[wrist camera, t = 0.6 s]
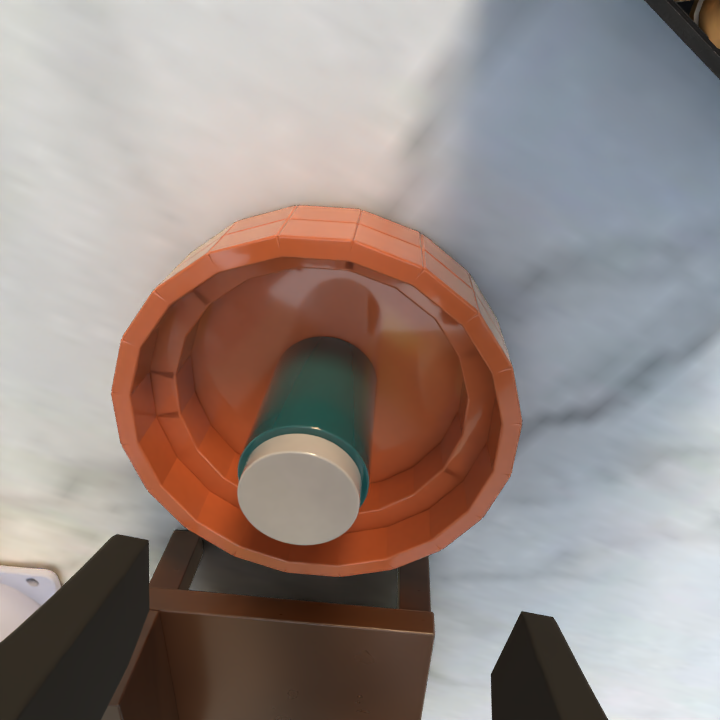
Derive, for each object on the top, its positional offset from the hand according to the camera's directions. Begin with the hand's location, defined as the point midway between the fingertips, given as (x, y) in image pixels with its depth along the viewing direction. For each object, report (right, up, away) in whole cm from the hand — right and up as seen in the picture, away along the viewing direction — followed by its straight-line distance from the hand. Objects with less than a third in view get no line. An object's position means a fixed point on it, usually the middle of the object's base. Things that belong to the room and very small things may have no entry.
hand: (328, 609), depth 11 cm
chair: (-2, -7, +16) cm, 18 cm away
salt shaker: (-1, +4, +9) cm, 10 cm away
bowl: (-1, +4, +9) cm, 10 cm away
